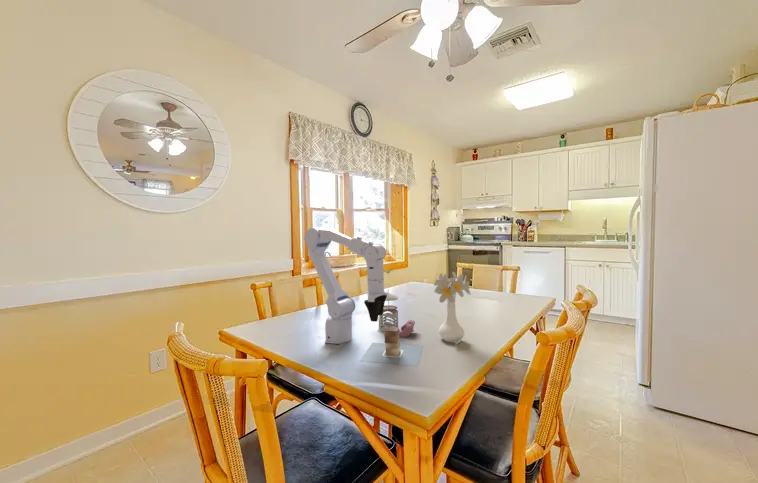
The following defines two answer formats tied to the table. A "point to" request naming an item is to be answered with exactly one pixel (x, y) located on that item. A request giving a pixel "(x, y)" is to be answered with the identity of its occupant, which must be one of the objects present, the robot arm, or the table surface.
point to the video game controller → (407, 328)
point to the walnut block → (392, 335)
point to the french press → (388, 314)
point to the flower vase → (451, 305)
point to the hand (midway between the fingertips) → (376, 318)
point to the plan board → (405, 357)
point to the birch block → (392, 348)
